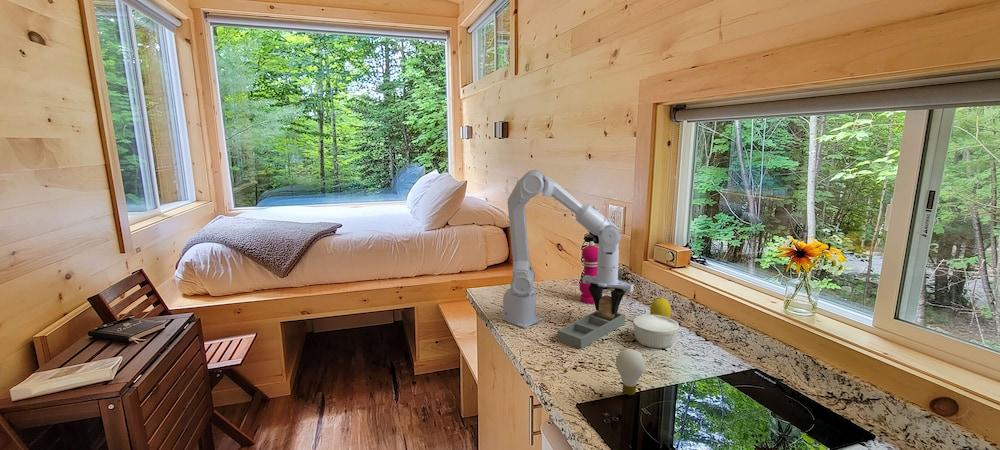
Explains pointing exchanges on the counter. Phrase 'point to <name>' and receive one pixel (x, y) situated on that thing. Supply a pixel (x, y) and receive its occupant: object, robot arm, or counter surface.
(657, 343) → the ramekin
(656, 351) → the counter surface
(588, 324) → the tray
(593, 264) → the pepper mill
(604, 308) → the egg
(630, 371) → the light bulb
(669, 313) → the lemon
